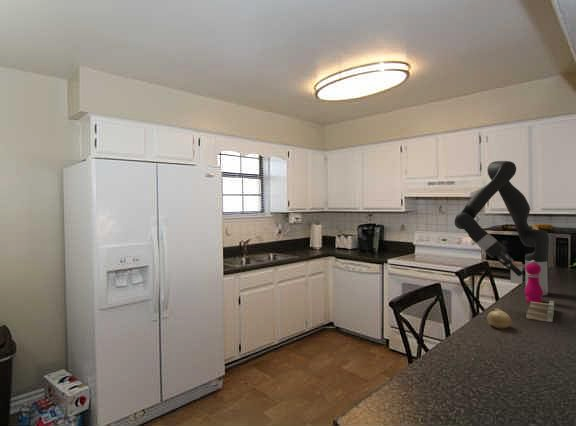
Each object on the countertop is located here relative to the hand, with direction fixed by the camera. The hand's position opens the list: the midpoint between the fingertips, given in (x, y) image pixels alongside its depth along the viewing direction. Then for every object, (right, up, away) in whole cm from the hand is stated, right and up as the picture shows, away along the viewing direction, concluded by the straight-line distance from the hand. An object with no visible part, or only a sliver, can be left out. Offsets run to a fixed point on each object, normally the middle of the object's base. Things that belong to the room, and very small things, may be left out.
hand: (521, 273), depth 153 cm
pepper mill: (+13, -15, +11) cm, 23 cm away
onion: (-22, -18, -19) cm, 34 cm away
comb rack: (+3, -16, -6) cm, 17 cm away
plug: (-1, -4, +1) cm, 5 cm away
